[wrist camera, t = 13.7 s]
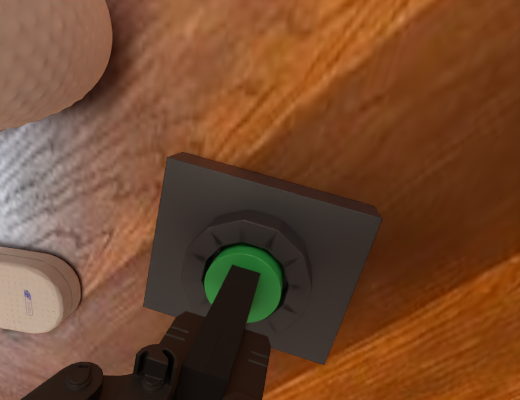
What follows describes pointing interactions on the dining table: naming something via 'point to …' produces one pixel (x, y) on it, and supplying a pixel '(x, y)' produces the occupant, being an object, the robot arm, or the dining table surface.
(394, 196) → the dining table surface
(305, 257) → the box
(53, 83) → the mug
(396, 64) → the dining table surface
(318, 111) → the dining table surface
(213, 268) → the button
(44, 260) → the electronic device
